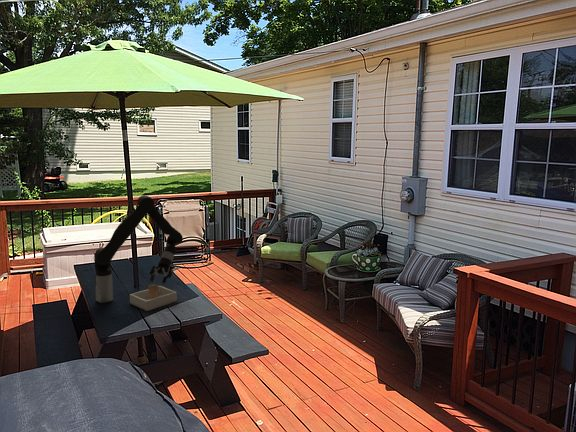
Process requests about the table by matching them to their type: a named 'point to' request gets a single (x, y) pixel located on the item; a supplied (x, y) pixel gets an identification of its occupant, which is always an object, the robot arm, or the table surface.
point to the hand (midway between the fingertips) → (157, 282)
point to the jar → (153, 291)
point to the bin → (144, 303)
